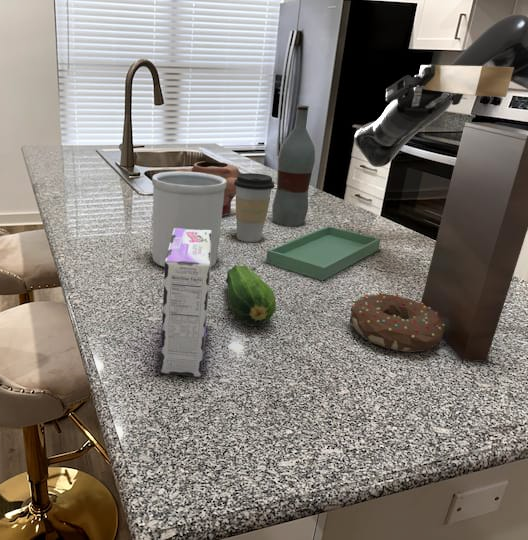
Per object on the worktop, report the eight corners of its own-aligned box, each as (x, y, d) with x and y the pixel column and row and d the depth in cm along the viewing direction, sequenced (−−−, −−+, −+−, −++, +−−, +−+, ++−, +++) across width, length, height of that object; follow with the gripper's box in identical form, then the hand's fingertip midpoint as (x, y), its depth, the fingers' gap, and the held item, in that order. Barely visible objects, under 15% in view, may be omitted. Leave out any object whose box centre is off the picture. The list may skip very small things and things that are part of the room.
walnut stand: (438, 312, 89) (488, 122, 77) (486, 361, 75) (557, 136, 63) (418, 311, 90) (465, 121, 78) (461, 359, 75) (527, 135, 63)
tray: (326, 236, 128) (328, 225, 126) (378, 250, 119) (380, 238, 118) (265, 262, 109) (267, 250, 108) (322, 281, 101) (324, 267, 100)
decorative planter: (171, 217, 138) (173, 166, 133) (170, 206, 149) (172, 157, 144) (245, 220, 139) (250, 168, 133) (238, 208, 150) (242, 160, 145)
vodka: (304, 218, 142) (320, 105, 131) (307, 228, 133) (324, 108, 122) (270, 216, 143) (283, 103, 132) (270, 225, 135) (284, 106, 124)
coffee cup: (242, 246, 118) (248, 181, 113) (222, 234, 126) (226, 173, 121) (276, 242, 122) (283, 179, 116) (254, 230, 130) (260, 171, 124)
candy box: (169, 325, 81) (173, 226, 75) (206, 328, 81) (213, 228, 75) (158, 374, 68) (162, 259, 62) (202, 378, 68) (211, 262, 62)
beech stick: (440, 89, 94) (445, 65, 93) (506, 96, 74) (514, 67, 73) (416, 88, 95) (420, 64, 93) (475, 95, 74) (482, 66, 73)
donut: (334, 315, 87) (339, 288, 85) (411, 315, 88) (418, 288, 86) (371, 361, 74) (378, 330, 72) (461, 360, 75) (470, 330, 73)
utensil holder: (171, 243, 118) (174, 167, 112) (230, 256, 112) (238, 176, 105) (136, 262, 106) (137, 178, 100) (200, 278, 100) (206, 189, 93)
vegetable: (248, 283, 77) (233, 241, 95) (223, 320, 79) (213, 273, 98) (289, 304, 78) (266, 259, 96) (263, 341, 80) (246, 290, 99)
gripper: (370, 94, 105) (405, 47, 88) (441, 97, 104) (490, 50, 88) (369, 129, 104) (405, 88, 87) (441, 132, 103) (491, 92, 87)
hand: (448, 69), depth 87 cm, fingers closed on beech stick, 4 cm apart
